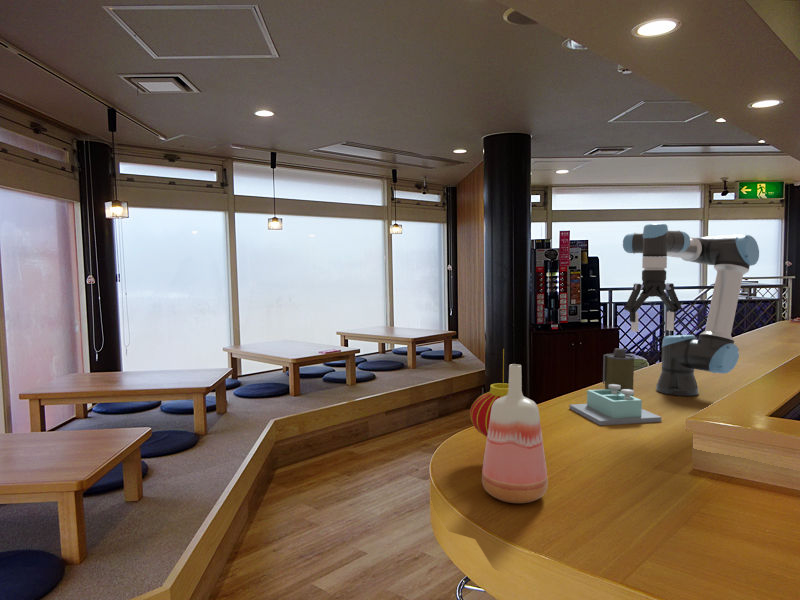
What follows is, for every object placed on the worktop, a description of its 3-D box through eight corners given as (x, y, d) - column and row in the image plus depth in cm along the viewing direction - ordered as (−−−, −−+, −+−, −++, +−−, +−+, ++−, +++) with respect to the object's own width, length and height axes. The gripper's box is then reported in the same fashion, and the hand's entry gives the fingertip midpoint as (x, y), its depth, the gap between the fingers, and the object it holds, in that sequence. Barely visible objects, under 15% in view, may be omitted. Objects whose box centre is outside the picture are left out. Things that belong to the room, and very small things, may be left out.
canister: (628, 398, 203) (629, 346, 202) (637, 405, 193) (639, 351, 191) (599, 397, 204) (600, 346, 203) (607, 404, 194) (608, 351, 192)
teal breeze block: (613, 403, 189) (613, 388, 189) (641, 416, 173) (641, 400, 173) (586, 405, 187) (587, 390, 187) (612, 418, 172) (613, 401, 171)
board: (625, 405, 192) (625, 380, 192) (661, 421, 173) (662, 393, 172) (569, 408, 188) (569, 383, 188) (600, 425, 169) (600, 397, 168)
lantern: (463, 468, 134) (464, 352, 132) (477, 446, 150) (478, 342, 148) (531, 477, 128) (533, 355, 126) (538, 453, 144) (540, 345, 142)
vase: (535, 515, 108) (537, 374, 106) (471, 499, 116) (472, 367, 114) (555, 490, 121) (557, 362, 119) (495, 477, 128) (496, 357, 126)
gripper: (678, 269, 185) (677, 328, 187) (614, 269, 181) (613, 330, 183) (694, 269, 178) (692, 331, 180) (627, 269, 174) (626, 333, 175)
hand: (652, 331), depth 181 cm, fingers open, 13 cm apart
